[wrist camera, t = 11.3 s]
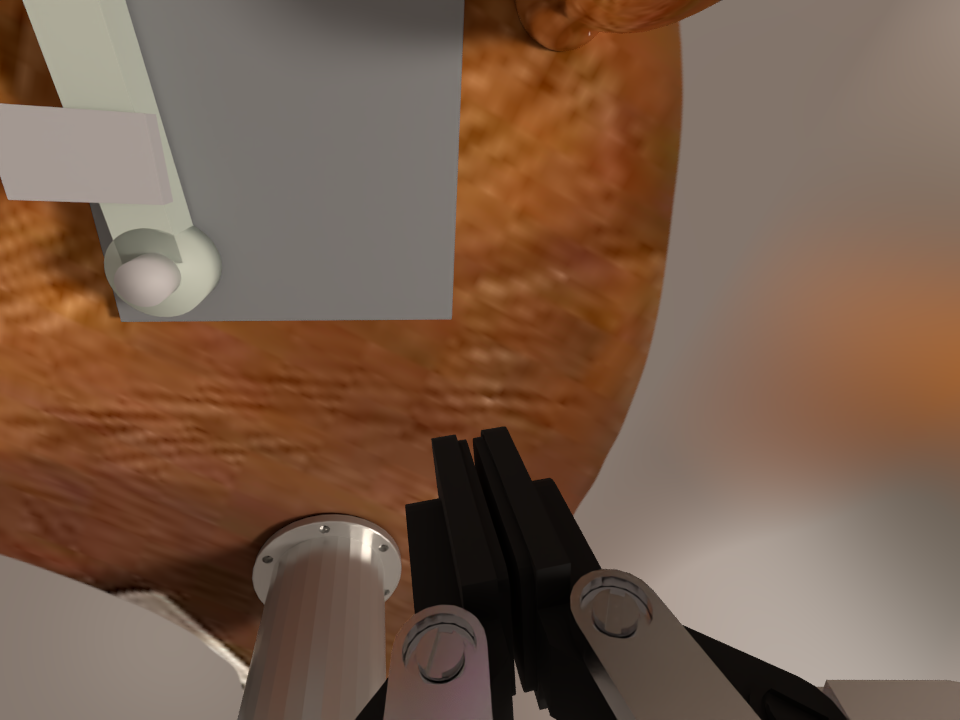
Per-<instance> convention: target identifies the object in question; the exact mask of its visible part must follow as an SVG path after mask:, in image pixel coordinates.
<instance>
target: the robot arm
mask: <svg viewBox="0 0 960 720" xmlns="http://www.w3.org/2000/svg"><path fill="white" fill-rule="evenodd" d="M431 440H432V449H433V457H434V465H435V473H436V481H437V488H438V496H439V498H438V499H433V500H428V501H422V502H417V503H411V504H406V505H405V508H406V520H407V531H408V543H409V554H410V565H411V576H412V587H413V599H414V610H415V614H414V615H413V616H412V617H411V618H410V619H409V620H408V621H407V622H406V623H404V624H403V626H402V628H401V629H400V631H399V632H398V634H397V635H396V637H395V641H394V644H393V648H392V653H391V661H390V669H389V677H388V678H387V680H386V663H385V601H386V600H387V599H388V598H389V597H390V596H391V595H392V593H393V592H394V590H395V589H396V587H397V585H398V582H399V580H400V576H401V556H400V552H399V549H398V546H397V544H396V543H395V541H394V539H393V538H392V537H391V536H390V535H389V534H388V533H387V532H386V531H385V530H384V529H382V528H381V527H379V526H378V525H376V524H374V523H372V522H370V521H367V520H365V519H362V518H358V517H354V516H349V515H339V514H330V515H318V516H313V517H308V518H304V519H302V520H299V521H296V522H293V523H291V524H289V525H287V526H285V527H283V528H282V529H280V530H279V531H277V532H276V533H275V534H273V535H272V536H271V537H270V538H269V539H268V540H267V541H266V542H265V544H264V545H263V546H262V547H261V549H260V551H259V553H258V555H257V557H256V561H255V564H254V568H253V576H252V581H253V586H254V590H255V592H256V594H257V596H258V598H259V599H260V600H261V601H262V603H263V604H264V609H263V613H262V618H261V622H260V626H259V630H258V635H257V639H256V643H255V647H254V651H253V656H252V660H251V664H250V668H249V673H248V677H247V681H246V685H245V690H244V694H243V698H242V702H241V707H240V711H239V715H238V719H237V720H514V719H513V702H512V696H513V695H515V694H516V689H515V688H516V687H515V671H514V660H515V663H516V667H517V670H518V674H519V678H520V681H521V685H522V688H523V691H524V692H529V691H533V690H534V692H535V696H536V699H537V702H538V706H539V709H540V710H541V709H546V708H548V710H549V713H550V716H551V717H553V718H555V719H556V720H960V682H955V681H949V680H826V683H825V685H824V687H815V686H814V685H812V684H810V683H809V682H807V681H805V680H803V679H802V678H800V677H798V676H796V675H794V674H791V673H789V672H787V671H785V670H783V669H780V668H778V667H776V666H773V665H771V664H769V663H767V662H764V661H762V660H760V659H758V658H756V657H753V656H751V655H749V654H747V653H744V652H742V651H740V650H738V649H735V648H733V647H731V646H729V645H726V644H724V643H722V642H720V641H717V640H715V639H713V638H711V637H708V636H706V635H704V634H702V633H699V632H697V631H695V630H693V629H690V628H688V627H686V626H684V625H682V624H681V623H680V622H679V621H678V619H677V618H676V617H675V616H674V615H673V613H672V612H671V611H670V610H669V609H668V607H667V606H666V605H665V604H664V603H663V601H662V600H661V599H660V598H659V597H658V595H657V594H656V593H655V592H654V591H653V590H652V589H651V588H650V587H649V586H648V585H647V584H646V583H645V582H644V581H642V580H641V579H639V578H637V577H636V576H634V575H632V574H630V573H627V572H623V571H620V570H614V569H601V567H600V565H599V563H598V561H597V560H596V558H595V556H594V554H593V552H592V550H591V549H590V547H589V545H588V543H587V541H586V539H585V537H584V536H583V534H582V532H581V530H580V528H579V526H578V525H577V523H576V521H575V519H574V517H573V515H572V513H571V512H570V510H569V508H568V506H567V504H566V502H565V500H564V499H563V497H562V495H561V493H560V491H559V489H558V488H557V486H556V484H555V482H554V481H553V479H551V478H546V479H541V480H535V481H532V480H531V478H530V476H529V474H528V472H527V470H526V468H525V466H524V463H523V461H522V459H521V457H520V455H519V453H518V451H517V449H516V447H515V445H514V442H513V440H512V438H511V436H510V434H509V432H508V430H507V428H506V427H505V426H504V427H498V428H492V429H486V430H481V437H477V438H473V449H474V461H475V465H474V462H473V459H472V456H471V453H470V450H469V447H468V443H467V441H466V439H465V440H459V441H458V440H457V437H456V435H450V436H444V437H438V438H432V439H431Z"/></svg>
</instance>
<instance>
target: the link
mask: <svg viewBox="0 0 960 720" xmlns="http://www.w3.org/2000/svg"><path fill="white" fill-rule="evenodd" d="M23 3H24V5H25V8H26V11H27V13H28V16H29V19H30V21H31V24H32V27H33V29H34V32H35V34H36V37H37V40H38V42H39V45H40V48H41V50H42V53H43V56H44V58H45V61H46V64H47V66H48V69H49V72H50V74H51V77H52V79H53V82H54V85H55V87H56V90H57V93H58V95H59V98H60V101H61V103H62V106H63V108H73V109H88V110H103V111H117V112H132V113H146V114H156V117H157V122H158V127H159V132H160V138H161V143H162V148H163V153H164V158H165V163H166V168H167V173H168V178H169V183H170V188H171V193H172V198H173V202H171V203H168V204H166V205H146V204H118V203H99V204H100V207H101V209H102V212H103V215H104V217H105V220H106V222H107V225H108V228H109V230H110V233H111V236H112V238H113V241H112V242H111V244H110V245H109V247H108V248H107V251H106V254H105V258H104V269H105V274H106V277H107V280H108V282H109V284H110V286H111V287H112V289H113V290H114V292H115V293H116V294H117V295H118V296H119V297H120V298H121V299H122V300H123V301H124V302H125V303H127V304H128V305H130V306H131V307H133V308H134V309H136V310H138V311H140V312H143V313H145V314H149V315H152V316H158V317H173V316H179V315H182V314H185V313H187V312H189V311H191V310H192V309H194V308H195V307H196V306H197V305H198V304H199V303H200V302H201V301H202V300H203V299H204V298H205V297H206V296H207V295H208V294H209V293H210V292H211V291H212V290H213V289H214V288H215V287H216V286H217V284H218V282H219V280H220V277H221V273H222V262H221V257H220V254H219V252H218V250H217V248H216V246H215V245H214V243H213V242H212V240H211V239H210V238H209V237H208V236H207V235H206V234H205V233H204V232H202V231H201V230H200V229H198V228H197V227H195V226H193V223H192V220H191V217H190V213H189V210H188V207H187V203H186V200H185V197H184V194H183V190H182V187H181V184H180V180H179V177H178V174H177V170H176V167H175V164H174V160H173V157H172V154H171V150H170V147H169V144H168V140H167V137H166V134H165V130H164V127H163V124H162V120H161V117H160V114H159V110H158V107H157V104H156V101H155V97H154V94H153V91H152V87H151V84H150V81H149V77H148V74H147V71H146V67H145V64H144V61H143V57H142V54H141V51H140V47H139V44H138V41H137V37H136V34H135V31H134V27H133V24H132V21H131V17H130V14H129V11H128V8H127V4H126V1H125V0H23Z"/></svg>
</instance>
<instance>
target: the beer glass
mask: <svg viewBox="0 0 960 720" xmlns="http://www.w3.org/2000/svg"><path fill="white" fill-rule="evenodd" d="M720 1H722V0H515V3H516V8H517V12H518V15H519V18H520V20H521V22H522V24H523V26H524V28H525V30H526V31H527V32H528V34H529V35H530V36H531V37H532V38H533V39H534V40H535V41H536V42H537V43H539V44H540V45H542V46H544V47H546V48H548V49H551V50H554V51H571V50H574V49H577V48H580V47H582V46H583V45H585V44H587V43H588V42H589V41H591V40H592V39H593V38H594V37H595V36H596V35H597V34H598V33H599V32H603V33H618V34H624V33H638V32H645V31H650V30H653V29H657V28H661V27H664V26H668V25H671V24H673V23H676V22H678V21H681V20H683V19H685V18H688V17H690V16H692V15H695V14H697V13H699V12H701V11H703V10H704V9H706V8H709V7H711V6H712V5H714V4H716V3H718V2H720Z"/></svg>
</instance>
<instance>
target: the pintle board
mask: <svg viewBox="0 0 960 720" xmlns="http://www.w3.org/2000/svg"><path fill="white" fill-rule="evenodd" d="M125 1H126V4H127V8H128V11H129V14H130V17H131V21H132V24H133V27H134V31H135V34H136V37H137V41H138V44H139V47H140V51H141V54H142V57H143V61H144V64H145V67H146V71H147V74H148V77H149V81H150V84H151V87H152V91H153V94H154V97H155V101H156V104H157V107H158V110H159V114H160V117H161V120H162V124H163V127H164V130H165V134H166V137H167V140H168V144H169V147H170V150H171V154H172V157H173V160H174V164H175V167H176V170H177V174H178V177H179V180H180V184H181V187H182V190H183V194H184V197H185V200H186V203H187V207H188V210H189V213H190V217H191V220H192V223H193V226H195V227H197V228H198V229H200V230H201V231H202V232H204V233H205V234H206V235H207V236H208V237H209V238H210V239H211V240H212V242H213V243H214V245H215V246H216V248H217V250H218V252H219V254H220V257H221V262H222V273H221V277H220V280H219V282H218V284H217V286H216V287H215V288H214V289H213V290H212V291H211V292H210V293H209V294H208V295H207V296H206V297H205V298H204V299H203V300H202V301H201V302H200V303H199V304H198V305H197V306H196V307H195V308H194V309H192V310H191V311H189V312H187V313H185V314H182V315H179V316H173V317H158V316H152V315H149V314H145V313H143V312H140V311H138V310H136V309H134V308H133V307H131V306H130V305H128V304H127V303H125V302H124V301H123V300H122V299H121V298H120V297H119V296H118V295H117V294H116V293H115V292H114V290H113V292H114V296H115V300H116V304H117V307H118V311H119V315H120V319H121V322H149V321H282V320H414V319H452V298H453V273H454V248H455V223H456V198H457V173H458V148H459V124H460V99H461V74H462V49H463V24H464V0H125ZM0 177H1V180H2V183H3V186H4V189H5V192H6V195H7V198H8V200H33V201H61V202H89V203H90V207H91V210H92V214H93V218H94V221H95V225H96V229H97V233H98V236H99V240H100V244H101V248H102V251H103V255H104V258H105V254H106V251H107V248H108V247H109V245H110V244H111V242H112V241H113V238H112V236H111V233H110V230H109V228H108V225H107V222H106V220H105V217H104V215H103V212H102V209H101V207H100V204H99V203H118V204H146V205H166V204H168V203H171V202H173V198H172V193H171V188H170V183H169V178H168V173H167V168H166V163H165V158H164V153H163V148H162V143H161V138H160V132H159V127H158V122H157V117H156V114H146V113H132V112H117V111H103V110H88V109H73V108H59V107H44V106H30V105H15V104H0Z"/></svg>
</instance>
